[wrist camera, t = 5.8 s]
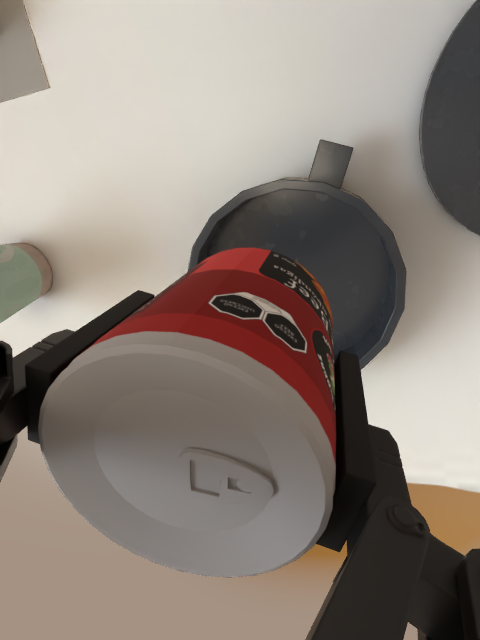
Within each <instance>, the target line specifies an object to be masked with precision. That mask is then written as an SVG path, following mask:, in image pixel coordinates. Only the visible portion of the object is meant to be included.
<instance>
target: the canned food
mask: <svg viewBox="0 0 480 640" xmlns="http://www.w3.org/2000/svg"><path fill="white" fill-rule="evenodd" d="M38 431H39V439H40V446H41V451H42V454H43V456H44V459H45V462H46V465H47V468H48V470H49V472H50V474H51V476H52V477H53V479H54V481H55V483H56V484H57V486H58V488H59V490H60V491H61V492H62V494H63V495H64V496H65V497H66V499H67V500H68V501H69V502H70V504H71V505H72V506H73V508H74V509H75V510H76V511H77V512H78V513H79V514H80V515H82V517H84V518H85V519H86V520H87V521H88V522H89V523H90V524H91V525H92V526H93V527H95V528H96V529H97V530H98V531H100V532H101V533H102V534H104V535H105V536H106V537H108V538H109V539H110V540H112V541H113V542H115V543H117V544H118V545H120V546H122V547H123V548H125V549H127V550H129V551H130V552H132V553H134V554H136V555H138V556H141V557H143V558H145V559H147V560H149V561H152V562H154V563H156V564H159V565H162V566H165V567H169V568H172V569H175V570H178V571H182V572H187V573H192V574H197V575H202V576H212V577H213V576H214V577H229V578H230V577H243V576H254V575H258V574H262V573H266V572H270V571H274V570H277V569H279V568H281V567H283V566H285V565H288V564H290V563H292V562H294V561H296V560H297V559H299V558H300V557H301V556H302V555H303V554H305V553H306V552H307V551H308V550H310V549H311V548H312V547H313V546H314V545H315V543H316V542H317V541H318V539H319V538H320V536H321V535H322V534H323V532H324V531H325V529H326V527H327V524H328V521H329V518H330V515H331V512H332V509H333V495H334V492H335V480H336V413H335V379H334V345H333V317H332V312H331V308H330V303H329V301H328V299H327V297H326V294H325V292H324V290H323V288H322V287H321V286H320V284H319V283H318V282H317V280H316V279H315V278H314V276H313V275H312V274H310V273H309V272H308V271H307V270H306V269H305V268H304V267H303V266H302V265H300V264H298V263H297V262H295V261H293V260H292V259H290V258H289V257H287V256H284V255H282V254H279V253H276V252H273V251H271V250H265V249H259V248H235V249H230V250H226V251H221V252H219V253H217V254H215V255H212V256H210V257H208V258H206V259H205V260H204V261H202V262H201V263H200V264H198V265H197V266H196V267H194V268H193V269H192V270H190V271H189V272H188V273H186V274H185V275H184V276H182V277H181V278H180V279H178V280H177V281H176V282H174V283H173V284H172V285H170V286H169V287H168V288H166V289H165V290H164V291H162V292H161V293H160V294H158V295H157V296H156V297H154V298H153V299H152V300H150V301H149V302H148V303H146V304H145V305H144V306H142V307H141V308H140V309H138V310H137V311H136V312H134V313H133V314H132V315H130V316H129V317H128V318H126V319H125V320H124V321H122V322H121V323H120V324H118V325H117V326H116V327H114V328H113V329H112V330H110V331H109V332H108V333H106V334H105V335H104V336H102V337H101V338H100V339H98V340H97V341H96V342H95V343H94V344H93V345H92V346H90V347H89V348H88V349H86V350H85V351H84V352H83V353H81V354H80V355H79V356H77V357H76V358H75V359H74V360H73V361H72V362H71V363H70V365H69V366H68V367H67V368H66V369H65V370H63V371H62V372H61V373H60V375H59V376H58V377H57V378H56V380H55V381H54V382H53V383H52V385H51V386H50V387H49V388H48V390H47V393H46V395H45V398H44V400H43V403H42V405H41V408H40V416H39V425H38Z"/></svg>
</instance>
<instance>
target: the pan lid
mask: <svg viewBox="0 0 480 640" xmlns="http://www.w3.org/2000/svg"><path fill="white" fill-rule="evenodd" d="M419 139H420V153H421V158H422V164H423V169H424V171H425V174H426V177H427V180H428V183H429V185H430V187H431V189H432V191H433V193H434V195H435V196H436V198H437V200H438V201H439V202H440V204H441V205H442V206H443V208H444V209H445V210H446V211H447V212H448V213H449V214H450V215H451V216H452V217H453V218H454V219H455V220H456V221H457V222H459V223H460V224H461V225H463V226H464V227H466V228H467V229H468V230H470V231H472V232H474V233H476V234H478V235H480V0H477V1H476V2H475V3H474V4H473V5H472V6H471V7H470V9H469V10H468V11H467V12H466V14H465V15H464V16H463V18H462V19H461V21H460V22H459V23H458V25H457V26H456V28H455V29H454V30H453V32H452V34H451V35H450V37H449V39H448V41H447V42H446V44H445V46H444V48H443V49H442V51H441V53H440V55H439V57H438V60H437V62H436V64H435V66H434V69H433V71H432V73H431V76H430V79H429V82H428V85H427V88H426V92H425V95H424V100H423V105H422V110H421V117H420V129H419Z"/></svg>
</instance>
